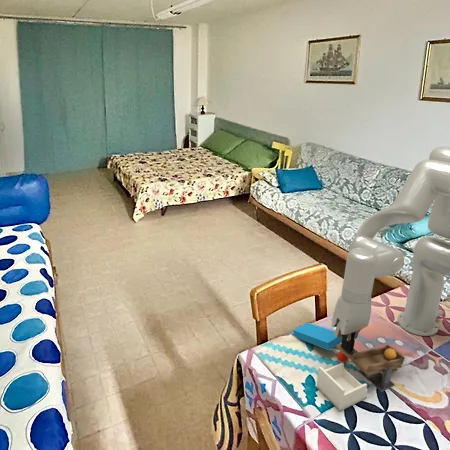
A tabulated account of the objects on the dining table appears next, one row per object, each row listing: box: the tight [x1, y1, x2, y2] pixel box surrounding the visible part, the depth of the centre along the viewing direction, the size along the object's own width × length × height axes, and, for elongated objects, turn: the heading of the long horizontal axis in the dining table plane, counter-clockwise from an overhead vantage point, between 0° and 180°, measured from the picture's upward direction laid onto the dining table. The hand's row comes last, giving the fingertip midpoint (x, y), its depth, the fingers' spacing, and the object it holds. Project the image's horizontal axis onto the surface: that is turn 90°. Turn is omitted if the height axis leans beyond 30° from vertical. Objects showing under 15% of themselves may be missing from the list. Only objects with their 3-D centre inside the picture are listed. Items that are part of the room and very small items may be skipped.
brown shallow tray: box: [335, 343, 406, 375], centre depth 113 cm, size 14×12×5 cm
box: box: [316, 362, 369, 412], centre depth 106 cm, size 9×9×7 cm
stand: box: [354, 366, 396, 393], centre depth 112 cm, size 5×10×6 cm, turn 28°
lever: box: [292, 322, 350, 364], centre depth 124 cm, size 7×7×18 cm
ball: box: [384, 348, 397, 360], centre depth 113 cm, size 3×3×3 cm
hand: (346, 348), depth 113 cm, fingers closed
